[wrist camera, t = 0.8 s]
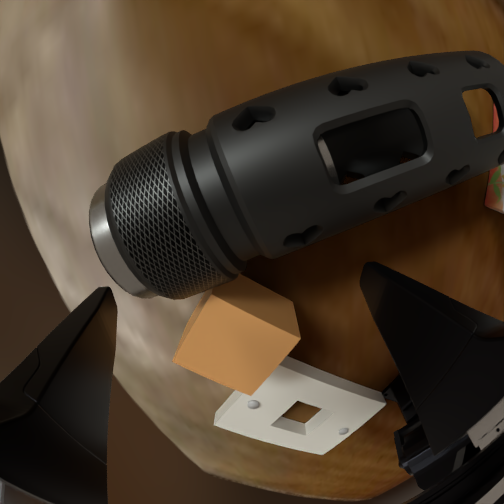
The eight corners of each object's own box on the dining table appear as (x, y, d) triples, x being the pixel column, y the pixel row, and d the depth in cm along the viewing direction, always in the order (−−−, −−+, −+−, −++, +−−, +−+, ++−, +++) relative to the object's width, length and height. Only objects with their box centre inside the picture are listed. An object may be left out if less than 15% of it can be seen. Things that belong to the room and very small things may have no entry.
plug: (290, 290, 24) (300, 338, 18) (252, 342, 26) (251, 396, 20) (224, 254, 23) (211, 294, 17) (191, 312, 25) (172, 361, 19)
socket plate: (381, 392, 29) (387, 405, 26) (320, 444, 32) (322, 456, 30) (270, 348, 26) (270, 363, 24) (215, 412, 30) (213, 426, 28)
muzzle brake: (463, 159, 20) (543, 172, 10) (182, 270, 24) (139, 342, 14) (430, 62, 17) (503, 35, 8) (133, 169, 21) (55, 184, 12)
